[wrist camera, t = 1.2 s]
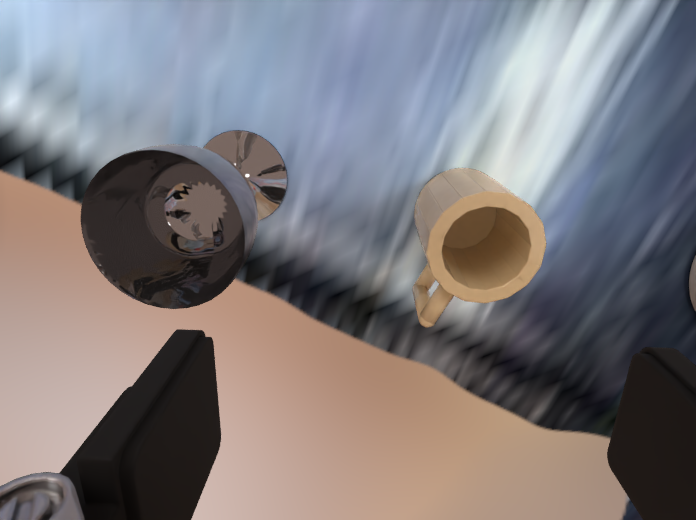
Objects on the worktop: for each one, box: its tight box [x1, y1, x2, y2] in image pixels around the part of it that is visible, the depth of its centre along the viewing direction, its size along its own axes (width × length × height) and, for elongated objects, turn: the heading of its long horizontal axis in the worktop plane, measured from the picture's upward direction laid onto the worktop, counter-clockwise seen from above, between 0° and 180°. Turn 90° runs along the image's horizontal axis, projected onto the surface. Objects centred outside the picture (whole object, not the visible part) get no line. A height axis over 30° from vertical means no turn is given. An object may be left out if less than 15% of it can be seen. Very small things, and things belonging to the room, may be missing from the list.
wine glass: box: [81, 130, 287, 309], centre depth 30 cm, size 8×8×15 cm
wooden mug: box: [412, 168, 546, 327], centre depth 33 cm, size 10×7×9 cm
